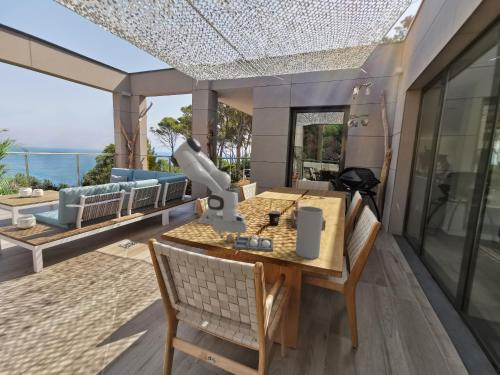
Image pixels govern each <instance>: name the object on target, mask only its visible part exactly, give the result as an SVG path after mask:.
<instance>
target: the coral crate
mask: <svg viewBox="0 0 500 375" xmlns="http://www.w3.org/2000/svg"><path fill="white" fill-rule="evenodd" d="M290 214H291V215H290V220H291V223H292V226H293V228H294V229H297V223H298V209H297V210H296V209H295V210H294V209H292V210H291V213H290ZM326 222H327V221H326V219H325V218H324V217H323V218H322V229H321V231H326Z"/></svg>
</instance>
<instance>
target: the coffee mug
mask: <svg viewBox="0 0 500 375" xmlns="http://www.w3.org/2000/svg"><path fill="white" fill-rule="evenodd" d="M266 216H268V218H269V219H267V218H266ZM263 217H264V219H265V220H266V221H267V222H268V223H269V226H271V227H278V226H279V223H280V217H281V212H280V211H279V210H269V211H268V213H266V214H265V215H264V216H263Z"/></svg>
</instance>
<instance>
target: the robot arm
mask: <svg viewBox="0 0 500 375" xmlns="http://www.w3.org/2000/svg"><path fill="white" fill-rule="evenodd" d="M200 143H201V142H199V140H197V139H196V138H194V137H189V138H188V139H187V138H186V141H184V142H182V143H181V144H180V145H179V146H178V147H177V149H176V150H175V151H174V152H172V154H171V155H170V157H169V158H170V162H171V164H172V165H173V166H175V167H176V168H180V169H181V171H182V172H183V174H184V175H185V176H186V177H187V179H189V180H190V181H192V182H197V183H201V184H203V185H205V186H206V187H207V188H208V189H209V190H210V191H211V194H210V195H209V196H208V197H207V202H206V203H207V206H208V208H206V210H204V211H203V212H202V214H201V215H200V218H198V220H197V223H198V224H202V225H204V224H205V225H210V226H212V230H213V232H218V234H219V238H220V239H223V238H224V234H222V232H224V233H225V232H226V233H237V235H236V236H235V240H236V239H237V240H238V239H239V237H241V236H240V235H241V234H245V233H247V230H248V224H247V220H246V215H245V214H242V213H239V212H238V205H239V195H238V194H239V193H238V191H237V190H236V189H234V188H229V185H230V184H231V180H232V178H231V176H230V175H229V174H228V173H227V172H225V171H222V170H220V169H218V168H217V166H216V165H215V163H214V162H213V160H212V159H210V158H209V157H208V156H207V155H206V154H205V153H204V152H202V151H201V150H202V145H201V144H200Z"/></svg>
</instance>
